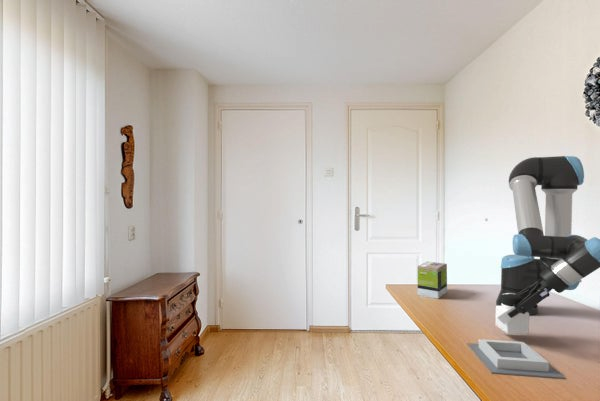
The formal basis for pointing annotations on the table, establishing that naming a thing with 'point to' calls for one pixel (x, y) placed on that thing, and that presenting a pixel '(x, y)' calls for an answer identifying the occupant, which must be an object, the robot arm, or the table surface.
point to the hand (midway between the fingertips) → (501, 315)
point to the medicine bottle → (516, 324)
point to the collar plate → (513, 359)
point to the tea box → (432, 279)
